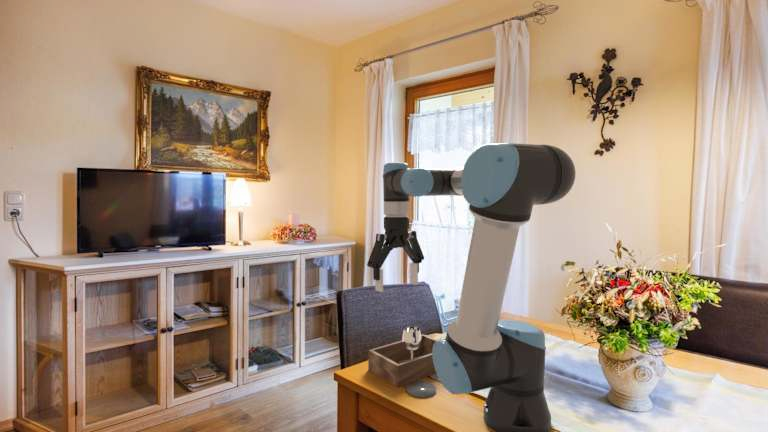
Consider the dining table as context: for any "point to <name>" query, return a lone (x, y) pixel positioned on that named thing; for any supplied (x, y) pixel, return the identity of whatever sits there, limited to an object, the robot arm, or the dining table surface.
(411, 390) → the coaster
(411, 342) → the wineglass
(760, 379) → the dining table surface
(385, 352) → the rectangular wooden frame
